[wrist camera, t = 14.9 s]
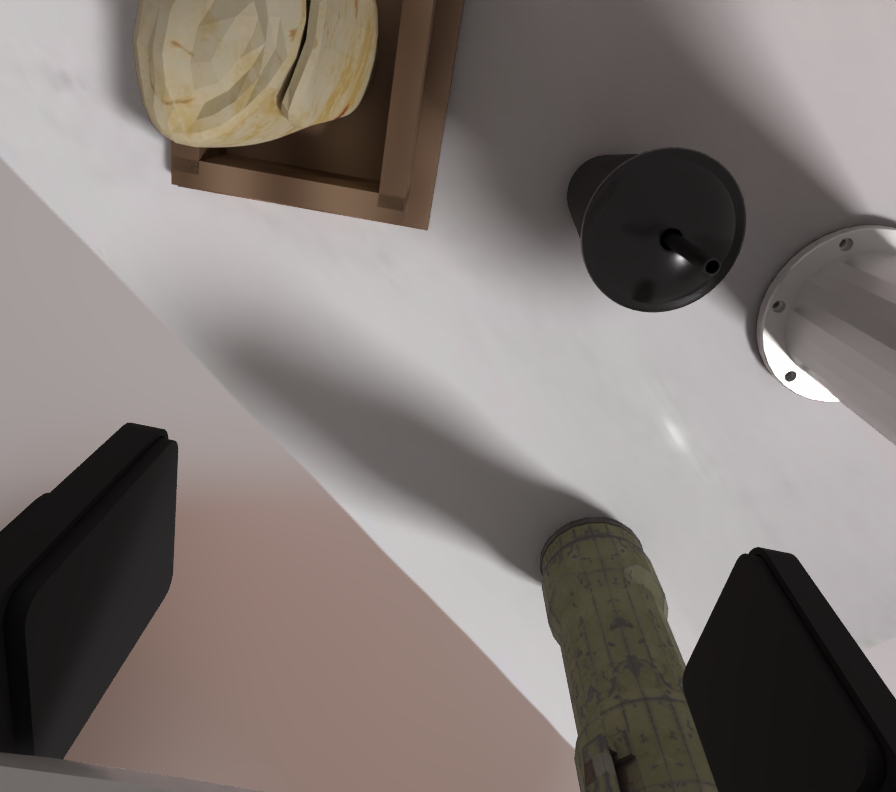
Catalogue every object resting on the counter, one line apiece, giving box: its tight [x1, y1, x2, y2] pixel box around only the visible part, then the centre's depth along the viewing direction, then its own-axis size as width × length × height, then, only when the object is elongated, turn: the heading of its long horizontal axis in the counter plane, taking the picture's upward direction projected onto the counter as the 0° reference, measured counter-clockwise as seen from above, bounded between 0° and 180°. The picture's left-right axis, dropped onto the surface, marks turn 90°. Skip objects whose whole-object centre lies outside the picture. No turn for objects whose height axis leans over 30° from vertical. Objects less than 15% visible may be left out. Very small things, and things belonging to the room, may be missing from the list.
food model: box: [133, 0, 379, 147], centre depth 30 cm, size 10×7×20 cm
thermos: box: [540, 518, 718, 792], centre depth 40 cm, size 9×12×35 cm
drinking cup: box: [567, 147, 746, 312], centre depth 34 cm, size 8×8×20 cm
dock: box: [172, 0, 464, 230], centre depth 37 cm, size 16×18×6 cm
